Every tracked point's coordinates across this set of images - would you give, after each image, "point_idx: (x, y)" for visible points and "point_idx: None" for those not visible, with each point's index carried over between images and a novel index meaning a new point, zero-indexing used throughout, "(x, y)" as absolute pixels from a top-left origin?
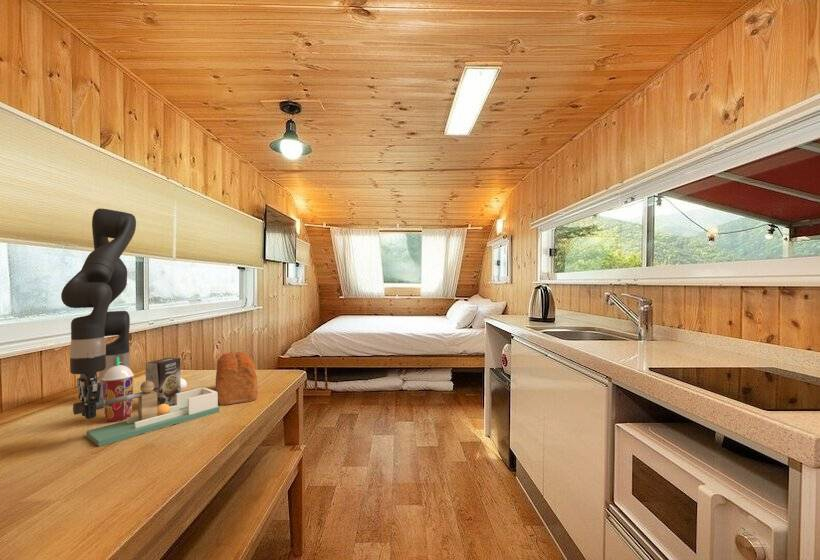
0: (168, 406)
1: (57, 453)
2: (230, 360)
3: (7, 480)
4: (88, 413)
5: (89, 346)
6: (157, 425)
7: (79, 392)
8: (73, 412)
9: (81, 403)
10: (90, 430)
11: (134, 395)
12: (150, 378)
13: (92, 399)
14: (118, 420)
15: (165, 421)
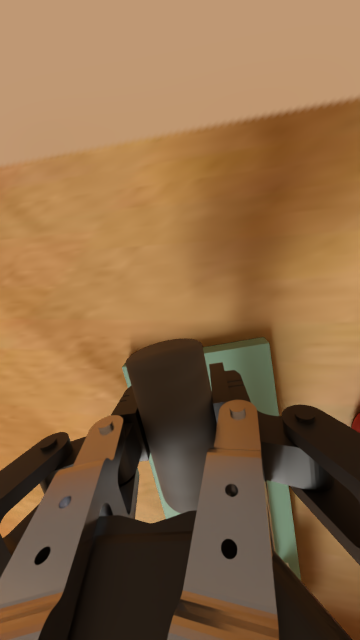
0: None
1: (153, 267)
2: None
3: (17, 165)
4: (122, 397)
5: None
6: (160, 494)
7: (204, 471)
8: (188, 339)
9: (146, 406)
10: (261, 353)
11: None
12: None
13: (43, 488)
14: (352, 425)
15: (173, 515)
